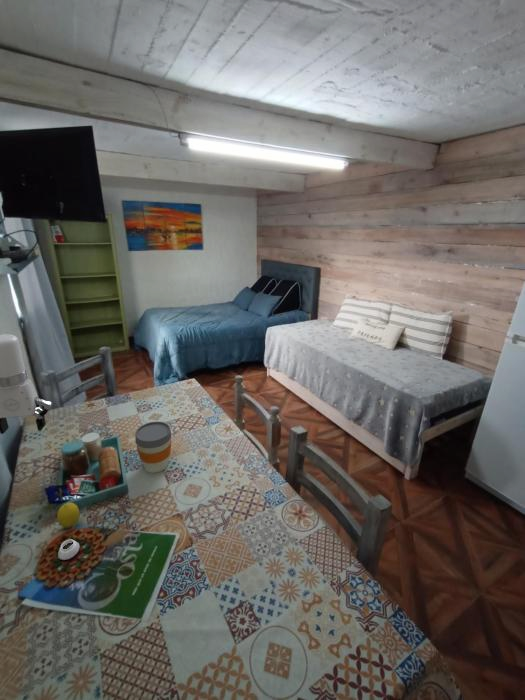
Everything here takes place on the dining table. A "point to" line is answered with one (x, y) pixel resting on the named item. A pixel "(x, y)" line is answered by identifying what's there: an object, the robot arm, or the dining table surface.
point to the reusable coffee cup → (154, 445)
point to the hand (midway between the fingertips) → (23, 429)
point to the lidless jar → (68, 550)
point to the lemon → (68, 515)
